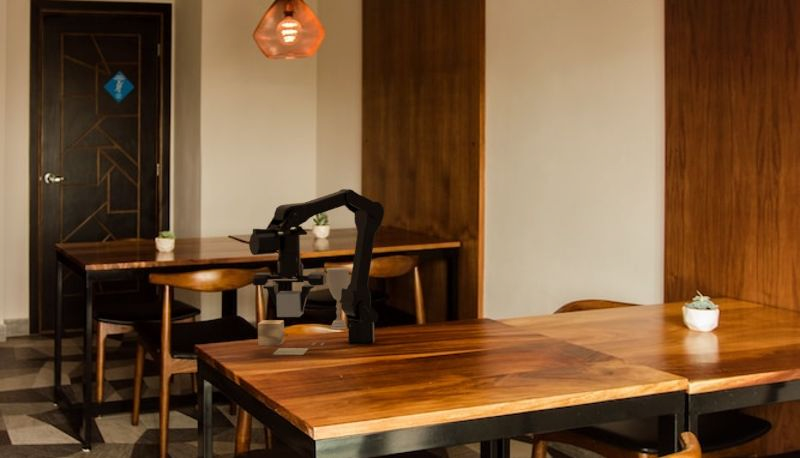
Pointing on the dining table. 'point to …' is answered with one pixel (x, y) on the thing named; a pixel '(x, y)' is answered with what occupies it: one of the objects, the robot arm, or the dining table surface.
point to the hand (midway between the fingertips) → (290, 311)
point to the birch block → (270, 332)
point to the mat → (290, 351)
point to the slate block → (289, 304)
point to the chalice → (337, 291)
